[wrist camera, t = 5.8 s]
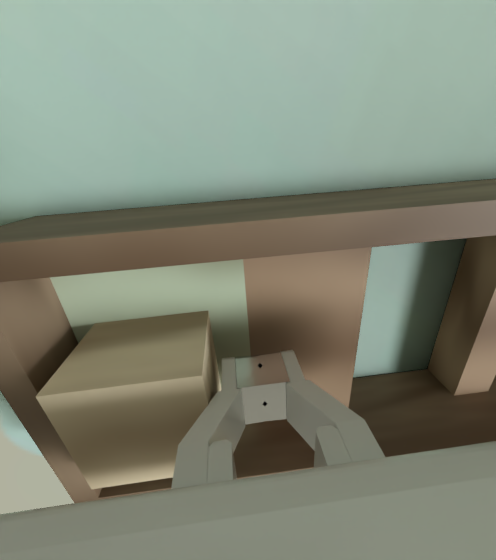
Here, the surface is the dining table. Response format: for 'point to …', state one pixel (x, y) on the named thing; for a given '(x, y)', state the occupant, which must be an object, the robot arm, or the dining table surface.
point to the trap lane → (259, 308)
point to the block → (132, 395)
